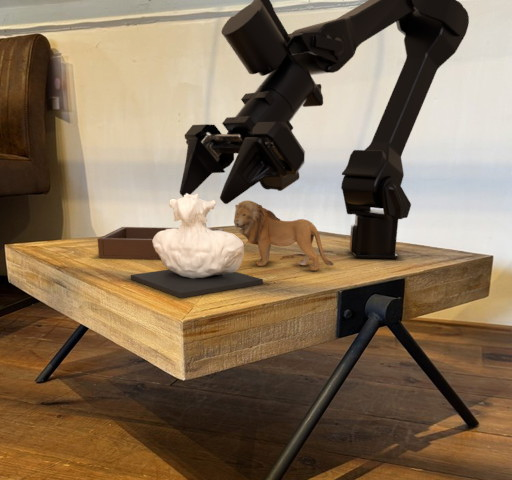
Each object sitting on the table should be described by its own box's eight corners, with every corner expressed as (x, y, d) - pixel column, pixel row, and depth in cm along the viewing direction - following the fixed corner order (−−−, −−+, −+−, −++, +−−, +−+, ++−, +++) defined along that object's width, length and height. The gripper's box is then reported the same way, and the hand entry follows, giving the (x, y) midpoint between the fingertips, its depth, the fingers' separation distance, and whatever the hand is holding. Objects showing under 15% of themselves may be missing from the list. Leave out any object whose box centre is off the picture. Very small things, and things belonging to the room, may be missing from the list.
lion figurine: (228, 265, 82) (228, 201, 79) (239, 259, 87) (239, 198, 84) (330, 272, 78) (334, 205, 75) (336, 265, 83) (339, 202, 80)
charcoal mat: (208, 268, 80) (208, 264, 80) (262, 283, 71) (263, 279, 71) (130, 279, 73) (130, 274, 73) (180, 298, 64) (180, 293, 64)
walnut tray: (223, 245, 99) (223, 228, 98) (214, 260, 86) (214, 241, 85) (123, 243, 99) (122, 226, 98) (98, 257, 87) (97, 238, 86)
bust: (153, 290, 74) (125, 227, 65) (168, 247, 78) (144, 182, 69) (242, 296, 72) (226, 232, 62) (253, 251, 76) (240, 185, 66)
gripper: (356, 153, 70) (285, 251, 68) (263, 151, 84) (201, 232, 82) (312, 78, 63) (230, 185, 60) (218, 90, 77) (149, 176, 75)
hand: (201, 198), depth 69 cm, fingers open, 9 cm apart
